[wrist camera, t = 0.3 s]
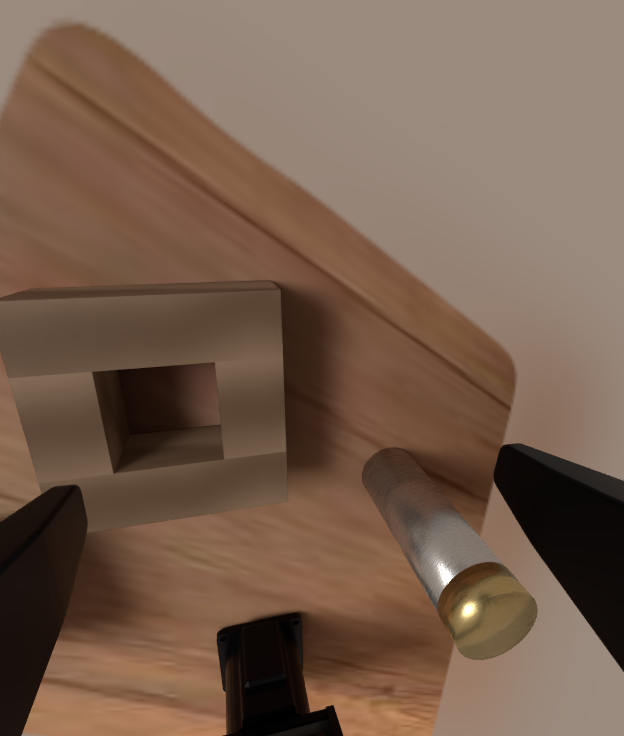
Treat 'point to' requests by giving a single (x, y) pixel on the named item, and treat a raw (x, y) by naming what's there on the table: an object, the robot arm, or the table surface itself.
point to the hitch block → (106, 404)
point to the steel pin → (449, 559)
